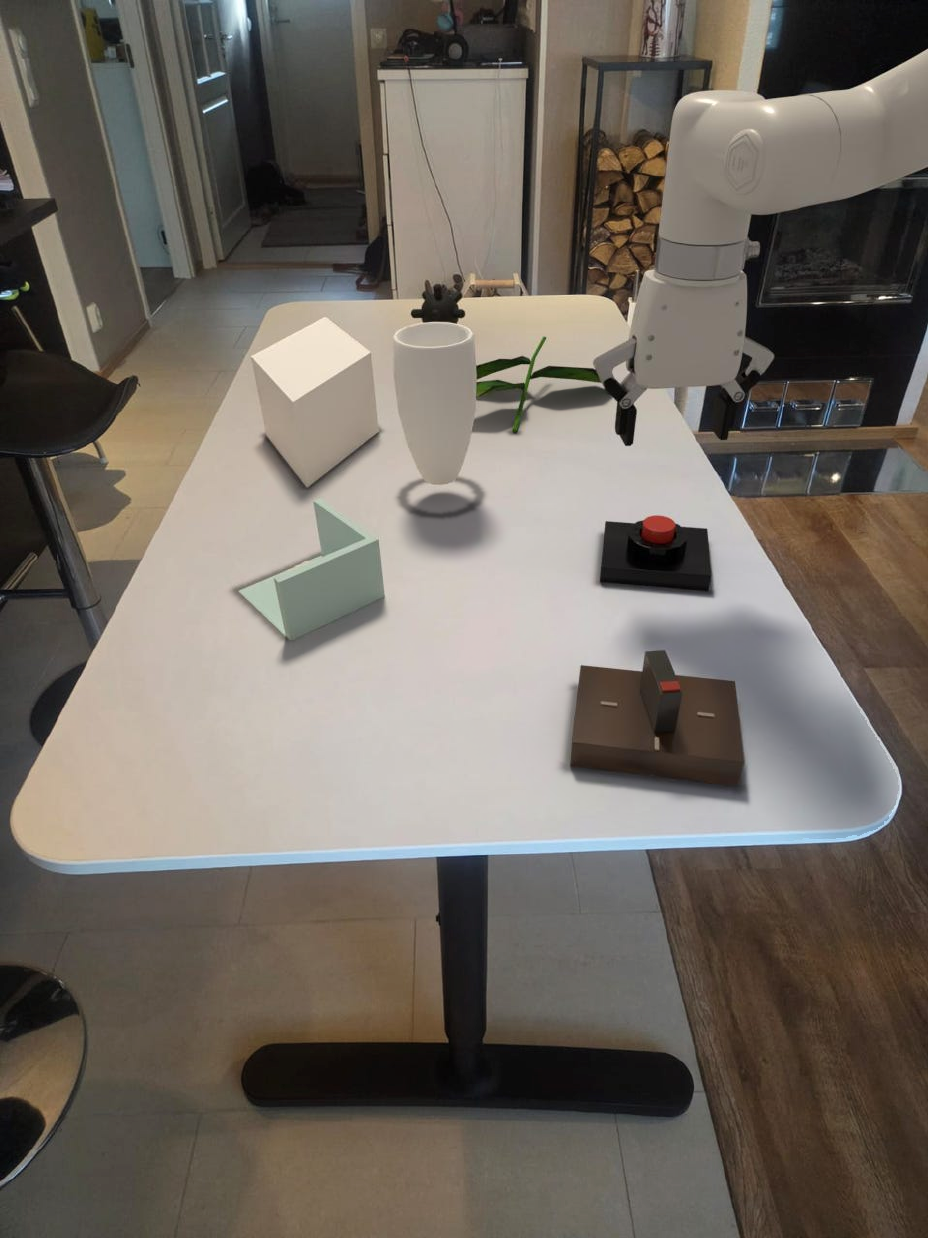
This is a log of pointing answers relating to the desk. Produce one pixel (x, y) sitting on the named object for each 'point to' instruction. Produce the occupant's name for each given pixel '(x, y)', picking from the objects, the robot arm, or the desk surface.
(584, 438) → the desk surface
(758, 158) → the robot arm
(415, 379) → the cup
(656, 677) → the handle
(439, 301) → the toy ball
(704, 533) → the button block
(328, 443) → the block
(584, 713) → the panel
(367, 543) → the right angle wall
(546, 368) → the plant
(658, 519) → the button
